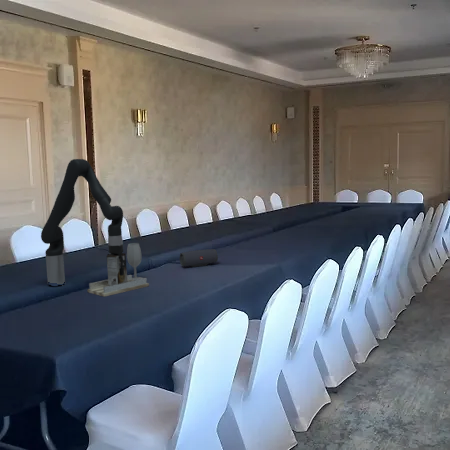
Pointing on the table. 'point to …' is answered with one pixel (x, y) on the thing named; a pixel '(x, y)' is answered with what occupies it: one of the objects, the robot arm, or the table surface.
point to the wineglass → (134, 257)
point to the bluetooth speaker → (198, 257)
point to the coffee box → (115, 270)
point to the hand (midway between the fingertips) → (117, 274)
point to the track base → (116, 286)
